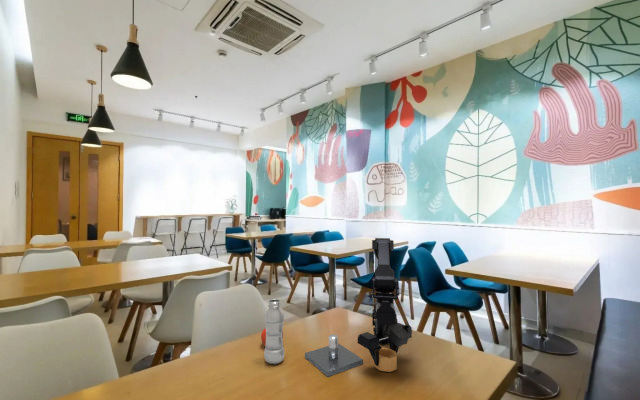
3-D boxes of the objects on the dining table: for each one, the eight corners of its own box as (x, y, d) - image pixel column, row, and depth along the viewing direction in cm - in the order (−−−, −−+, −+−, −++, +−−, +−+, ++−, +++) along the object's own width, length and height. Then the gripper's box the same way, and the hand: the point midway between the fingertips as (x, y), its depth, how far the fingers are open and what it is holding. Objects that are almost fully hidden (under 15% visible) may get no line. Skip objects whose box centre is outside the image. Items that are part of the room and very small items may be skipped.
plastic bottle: (280, 367, 94) (280, 304, 95) (260, 365, 96) (261, 303, 96) (286, 357, 101) (287, 298, 101) (268, 356, 102) (268, 297, 103)
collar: (385, 357, 100) (385, 345, 100) (401, 367, 94) (401, 354, 94) (369, 363, 96) (369, 351, 96) (385, 373, 90) (385, 360, 90)
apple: (286, 347, 109) (286, 325, 109) (266, 353, 104) (266, 330, 104) (277, 339, 115) (277, 318, 115) (257, 344, 111) (257, 323, 111)
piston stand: (338, 347, 108) (337, 325, 109) (363, 364, 97) (363, 339, 97) (304, 357, 101) (304, 333, 101) (327, 376, 89) (327, 350, 89)
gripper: (381, 327, 84) (381, 383, 83) (424, 315, 94) (425, 365, 93) (356, 315, 93) (356, 366, 93) (397, 305, 103) (398, 351, 103)
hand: (385, 362), depth 95 cm, fingers closed on collar, 7 cm apart
